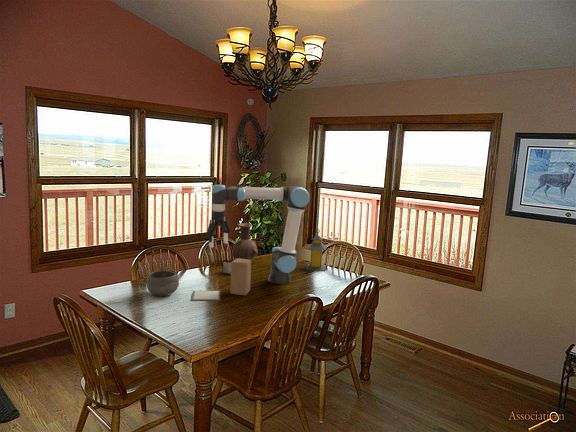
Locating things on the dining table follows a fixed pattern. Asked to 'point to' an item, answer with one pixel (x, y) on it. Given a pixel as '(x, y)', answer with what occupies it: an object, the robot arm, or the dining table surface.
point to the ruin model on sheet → (227, 267)
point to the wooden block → (240, 276)
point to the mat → (206, 296)
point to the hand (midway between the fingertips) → (218, 245)
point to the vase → (244, 244)
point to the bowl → (162, 282)
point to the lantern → (316, 254)
